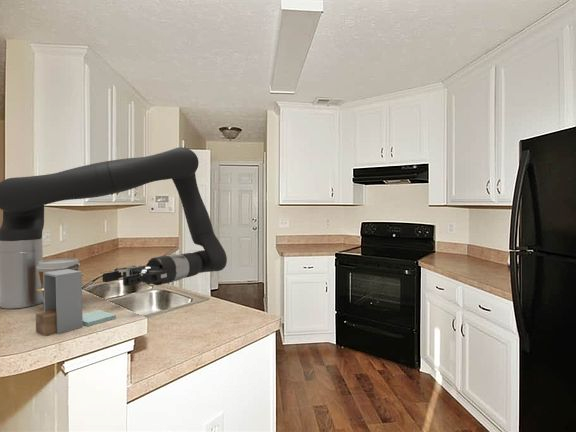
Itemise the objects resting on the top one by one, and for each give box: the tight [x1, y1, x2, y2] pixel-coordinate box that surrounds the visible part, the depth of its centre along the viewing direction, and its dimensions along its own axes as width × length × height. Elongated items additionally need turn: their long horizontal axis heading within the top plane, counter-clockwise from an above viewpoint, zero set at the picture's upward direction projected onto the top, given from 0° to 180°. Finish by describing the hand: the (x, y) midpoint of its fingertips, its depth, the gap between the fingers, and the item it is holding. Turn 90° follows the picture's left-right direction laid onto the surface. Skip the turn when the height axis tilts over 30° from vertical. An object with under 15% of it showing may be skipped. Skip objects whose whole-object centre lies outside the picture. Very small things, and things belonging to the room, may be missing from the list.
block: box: [35, 309, 57, 337], centre depth 74 cm, size 4×4×4 cm
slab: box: [82, 309, 117, 327], centre depth 82 cm, size 7×6×1 cm
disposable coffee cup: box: [36, 257, 81, 300], centre depth 92 cm, size 10×10×12 cm
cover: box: [43, 269, 83, 334], centre depth 76 cm, size 6×5×12 cm
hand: (113, 279), depth 86 cm, fingers open, 8 cm apart
